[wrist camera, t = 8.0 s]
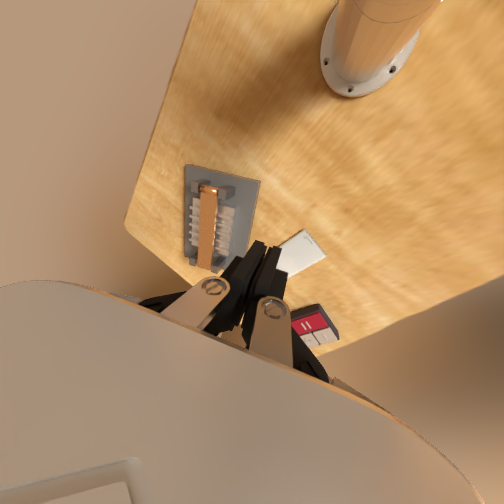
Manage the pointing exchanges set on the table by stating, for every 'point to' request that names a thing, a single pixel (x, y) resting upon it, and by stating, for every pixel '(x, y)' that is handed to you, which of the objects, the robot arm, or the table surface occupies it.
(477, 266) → the table surface
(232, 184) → the grey mounting plate
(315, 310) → the calculator
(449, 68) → the table surface
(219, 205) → the heat sink
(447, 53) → the table surface
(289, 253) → the hard drive
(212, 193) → the retention strap
